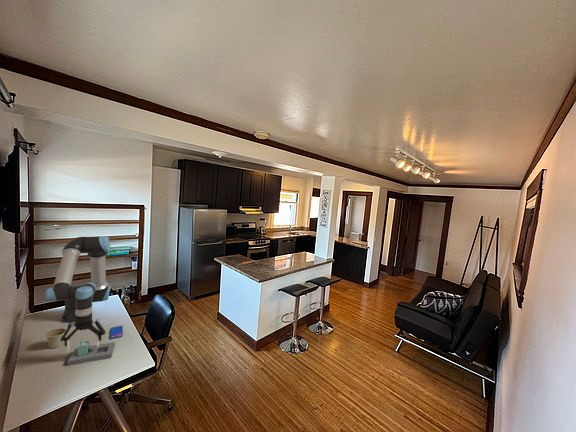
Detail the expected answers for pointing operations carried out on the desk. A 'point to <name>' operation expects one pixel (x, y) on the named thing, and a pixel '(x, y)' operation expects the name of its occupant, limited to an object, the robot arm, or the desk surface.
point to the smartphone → (116, 332)
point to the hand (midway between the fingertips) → (83, 348)
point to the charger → (83, 348)
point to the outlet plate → (93, 354)
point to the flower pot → (55, 337)
